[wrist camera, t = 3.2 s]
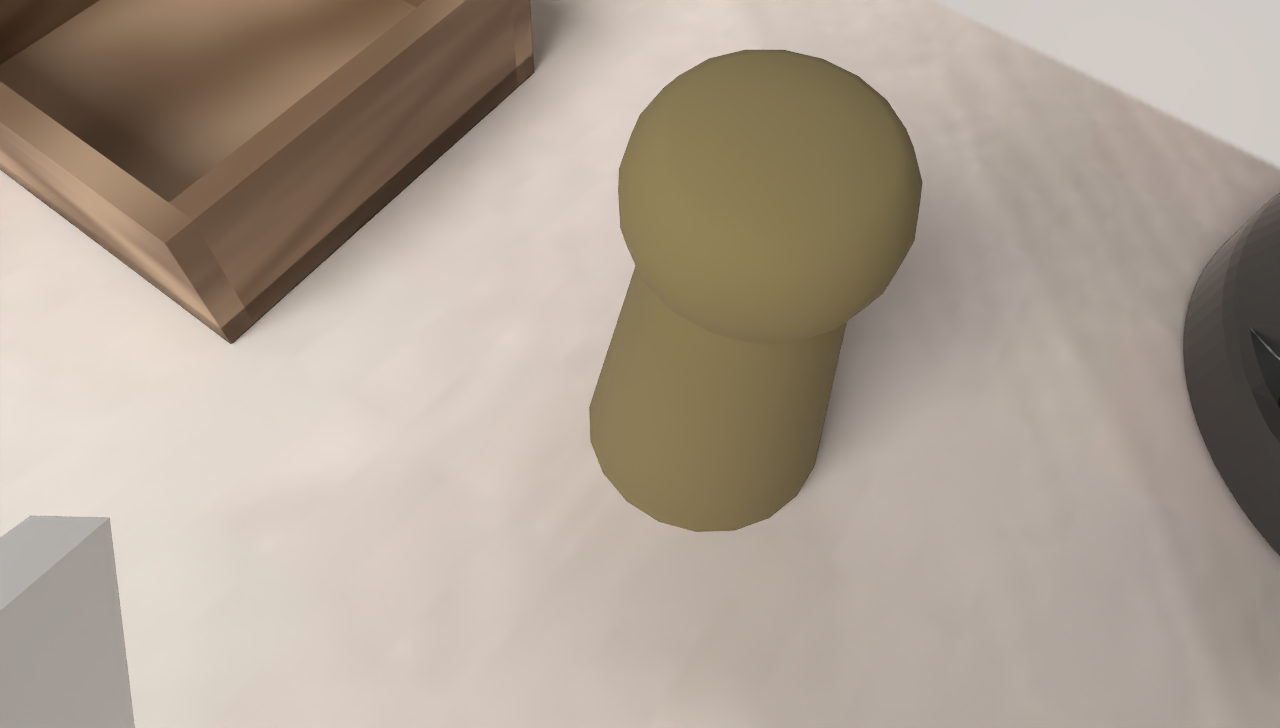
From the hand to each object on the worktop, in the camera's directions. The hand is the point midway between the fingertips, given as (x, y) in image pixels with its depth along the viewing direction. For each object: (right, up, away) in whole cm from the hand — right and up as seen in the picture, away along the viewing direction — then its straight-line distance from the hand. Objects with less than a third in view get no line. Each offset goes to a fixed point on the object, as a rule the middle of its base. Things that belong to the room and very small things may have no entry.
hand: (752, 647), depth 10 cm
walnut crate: (-13, +11, +19) cm, 26 cm away
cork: (+1, +1, +15) cm, 15 cm away
